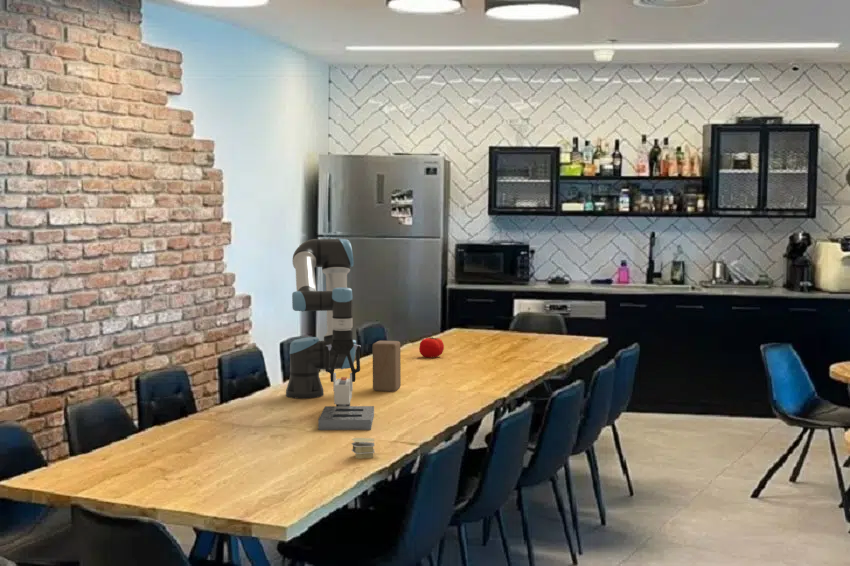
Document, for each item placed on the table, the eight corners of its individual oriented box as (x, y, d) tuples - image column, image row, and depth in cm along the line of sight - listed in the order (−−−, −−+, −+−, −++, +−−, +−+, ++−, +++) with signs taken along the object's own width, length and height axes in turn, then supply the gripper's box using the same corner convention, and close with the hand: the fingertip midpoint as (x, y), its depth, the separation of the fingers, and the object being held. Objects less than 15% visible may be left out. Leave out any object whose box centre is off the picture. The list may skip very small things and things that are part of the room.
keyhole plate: (318, 430, 358) (318, 419, 358) (325, 415, 382) (324, 406, 382) (370, 429, 358) (370, 419, 358) (374, 415, 382) (374, 406, 382)
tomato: (416, 356, 529) (416, 336, 528) (440, 355, 533) (440, 335, 532) (423, 359, 518) (422, 339, 517) (447, 358, 522) (447, 338, 521)
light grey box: (334, 412, 385) (334, 383, 384) (337, 404, 399) (337, 376, 398) (349, 412, 385) (348, 383, 384) (351, 404, 399) (351, 376, 398)
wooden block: (395, 392, 430) (395, 343, 428) (372, 391, 432) (371, 343, 430) (401, 387, 439) (400, 340, 438) (378, 387, 441) (377, 340, 440)
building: (378, 453, 326) (378, 436, 326) (379, 460, 317) (379, 442, 317) (346, 454, 325) (346, 437, 325) (346, 461, 316) (346, 443, 316)
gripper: (316, 330, 385) (317, 392, 387) (366, 330, 385) (367, 392, 387) (318, 327, 393) (319, 388, 395) (367, 327, 393) (368, 388, 395)
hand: (343, 390), depth 391 cm, fingers closed on light grey box, 5 cm apart
